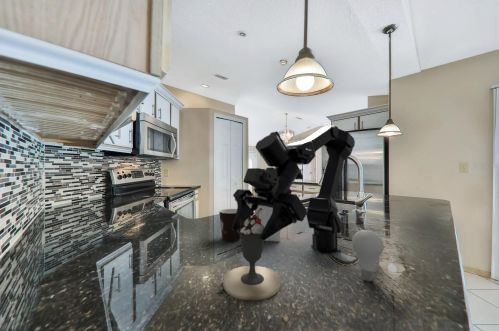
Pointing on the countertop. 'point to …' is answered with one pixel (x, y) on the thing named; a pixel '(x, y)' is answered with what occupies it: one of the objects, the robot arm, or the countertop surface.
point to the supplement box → (264, 217)
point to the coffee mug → (228, 225)
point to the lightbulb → (367, 252)
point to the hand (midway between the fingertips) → (246, 234)
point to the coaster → (251, 292)
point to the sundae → (251, 247)
